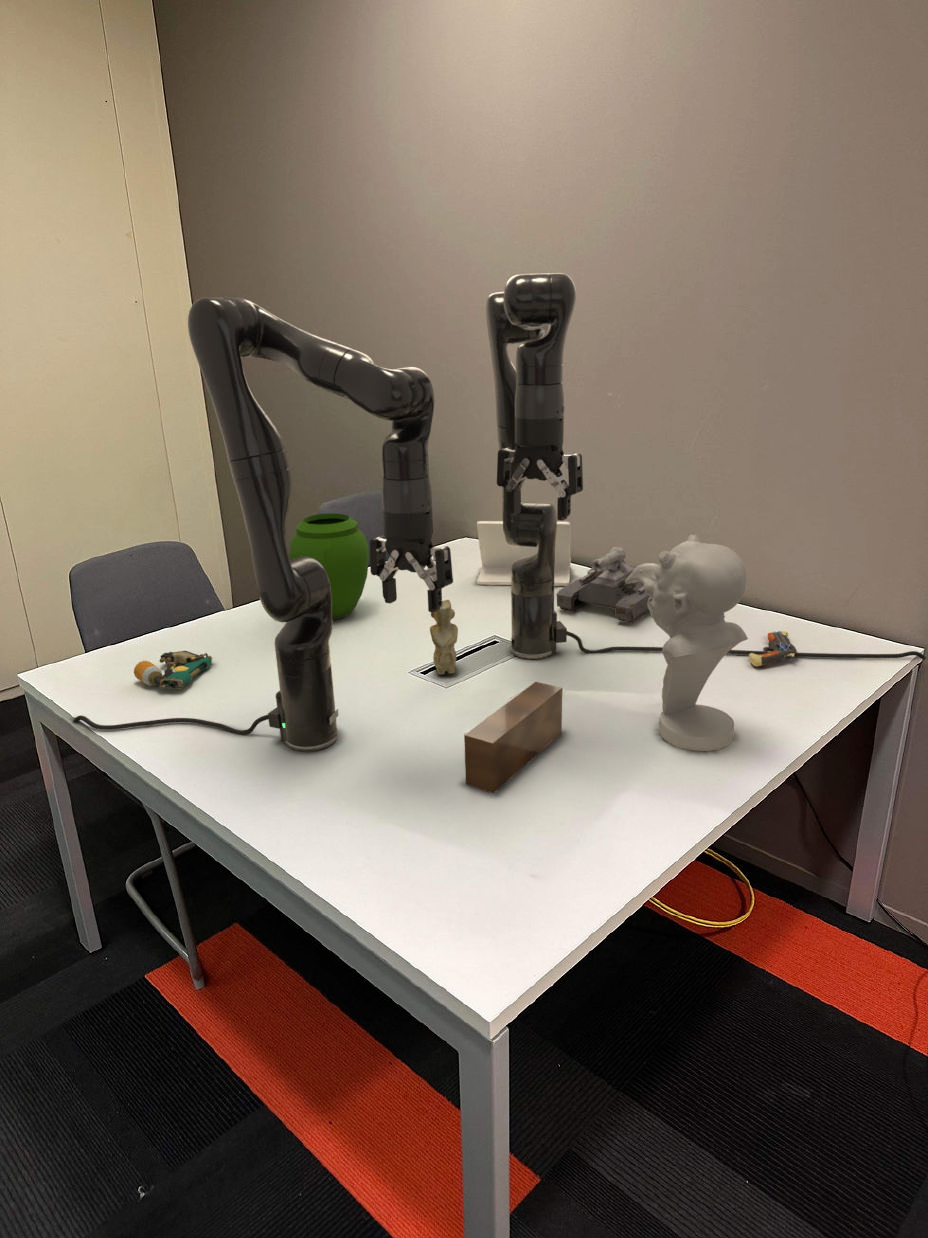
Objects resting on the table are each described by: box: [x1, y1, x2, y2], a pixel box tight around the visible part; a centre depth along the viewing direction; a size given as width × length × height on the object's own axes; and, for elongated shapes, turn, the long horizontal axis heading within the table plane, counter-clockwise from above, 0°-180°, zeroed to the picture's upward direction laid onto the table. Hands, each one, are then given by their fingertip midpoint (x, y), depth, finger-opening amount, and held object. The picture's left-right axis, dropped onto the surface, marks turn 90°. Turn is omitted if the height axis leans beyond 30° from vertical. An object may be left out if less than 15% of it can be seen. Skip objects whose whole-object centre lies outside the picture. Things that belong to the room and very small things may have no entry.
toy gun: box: [748, 630, 799, 667], centre depth 183 cm, size 3×19×10 cm
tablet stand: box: [476, 520, 572, 587], centre depth 236 cm, size 18×25×17 cm
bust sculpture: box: [625, 534, 749, 752], centre depth 149 cm, size 16×24×35 cm
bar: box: [463, 681, 563, 794], centre depth 144 cm, size 23×5×9 cm, turn 146°
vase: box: [288, 512, 370, 620], centre depth 209 cm, size 20×20×24 cm
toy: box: [556, 546, 650, 624], centre depth 212 cm, size 25×20×15 cm
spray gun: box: [133, 650, 213, 690], centre depth 180 cm, size 4×17×15 cm
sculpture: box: [429, 599, 459, 675], centre depth 177 cm, size 6×7×15 cm
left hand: (412, 606), depth 135 cm, fingers open, 8 cm apart
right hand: (538, 516), depth 137 cm, fingers open, 8 cm apart
